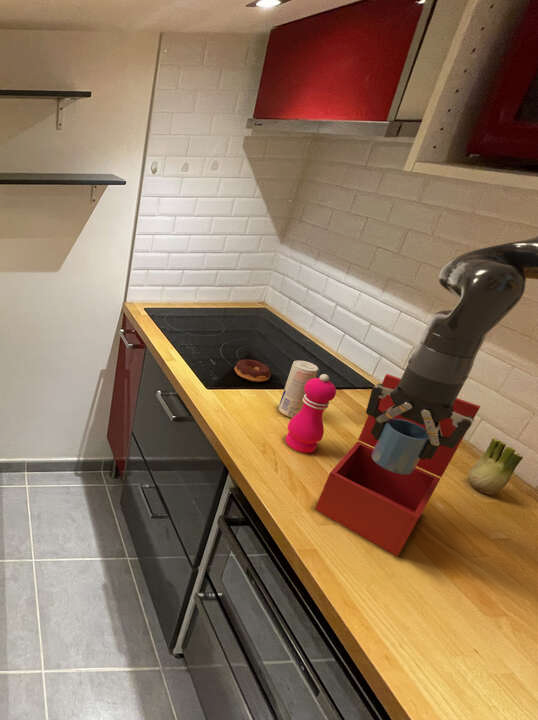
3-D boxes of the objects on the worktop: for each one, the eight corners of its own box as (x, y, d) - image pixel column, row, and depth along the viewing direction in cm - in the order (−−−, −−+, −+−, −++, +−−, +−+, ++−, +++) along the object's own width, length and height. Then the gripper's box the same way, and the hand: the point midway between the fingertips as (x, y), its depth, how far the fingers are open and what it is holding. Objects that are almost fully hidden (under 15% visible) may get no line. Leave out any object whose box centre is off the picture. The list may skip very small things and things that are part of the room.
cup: (418, 479, 81) (436, 444, 78) (376, 468, 84) (392, 433, 80) (407, 457, 86) (424, 424, 83) (367, 447, 89) (382, 414, 85)
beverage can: (306, 418, 119) (324, 370, 113) (286, 419, 118) (303, 370, 112) (292, 406, 124) (308, 359, 118) (273, 407, 123) (288, 360, 117)
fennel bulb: (500, 501, 93) (529, 457, 88) (469, 493, 96) (496, 449, 91) (489, 483, 98) (516, 440, 93) (460, 475, 100) (485, 433, 95)
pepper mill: (276, 438, 111) (299, 369, 103) (298, 432, 113) (322, 364, 105) (301, 457, 105) (328, 385, 97) (324, 451, 107) (352, 380, 99)
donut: (238, 364, 145) (240, 353, 143) (271, 374, 139) (275, 363, 138) (229, 376, 138) (232, 365, 136) (265, 388, 132) (268, 376, 131)
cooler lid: (479, 407, 78) (485, 397, 81) (385, 374, 88) (393, 366, 91) (441, 477, 85) (447, 465, 88) (357, 440, 95) (366, 430, 98)
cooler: (397, 556, 81) (418, 517, 77) (314, 509, 91) (330, 472, 87) (420, 515, 90) (440, 478, 86) (342, 475, 100) (357, 441, 96)
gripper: (498, 382, 73) (454, 460, 80) (391, 348, 84) (360, 420, 91) (490, 397, 69) (444, 478, 76) (378, 360, 80) (347, 435, 87)
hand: (399, 447), depth 83 cm, fingers closed on cup, 6 cm apart
